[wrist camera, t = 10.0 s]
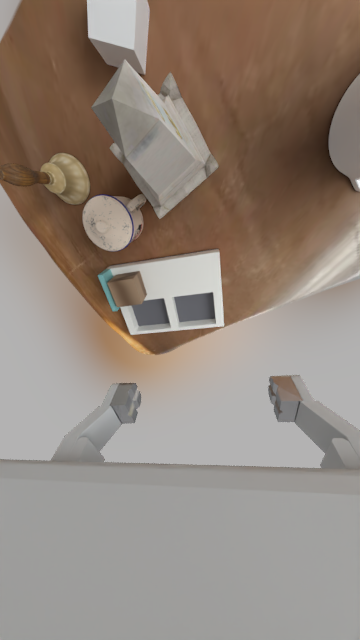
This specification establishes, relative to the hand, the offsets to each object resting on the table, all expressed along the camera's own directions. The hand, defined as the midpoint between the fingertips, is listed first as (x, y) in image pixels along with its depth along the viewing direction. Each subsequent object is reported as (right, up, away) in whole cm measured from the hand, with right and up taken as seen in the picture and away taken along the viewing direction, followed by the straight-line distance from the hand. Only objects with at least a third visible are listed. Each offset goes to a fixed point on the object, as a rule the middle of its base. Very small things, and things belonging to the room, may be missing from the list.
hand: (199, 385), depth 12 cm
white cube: (-9, +45, +16) cm, 49 cm away
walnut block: (-13, +12, +34) cm, 38 cm away
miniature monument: (-2, +32, +24) cm, 40 cm away
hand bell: (-23, +32, +26) cm, 48 cm away
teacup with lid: (-12, +26, +29) cm, 41 cm away
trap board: (-4, +11, +38) cm, 39 cm away
